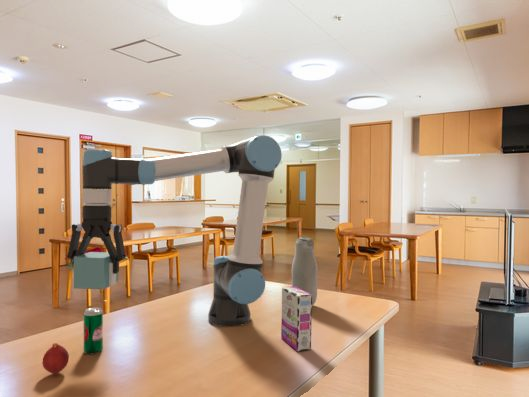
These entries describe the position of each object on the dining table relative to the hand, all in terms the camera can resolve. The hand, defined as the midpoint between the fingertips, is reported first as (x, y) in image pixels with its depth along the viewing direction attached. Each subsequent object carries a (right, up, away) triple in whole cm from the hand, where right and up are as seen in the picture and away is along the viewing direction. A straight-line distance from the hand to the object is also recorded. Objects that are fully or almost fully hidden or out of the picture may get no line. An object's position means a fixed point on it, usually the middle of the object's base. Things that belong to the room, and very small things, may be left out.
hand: (96, 284), depth 108 cm
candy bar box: (+57, -20, +8) cm, 61 cm away
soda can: (-2, -20, +1) cm, 20 cm away
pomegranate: (-5, -20, -12) cm, 24 cm away
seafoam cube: (0, 0, 0) cm, 0 cm away
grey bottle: (+64, -19, +46) cm, 81 cm away
